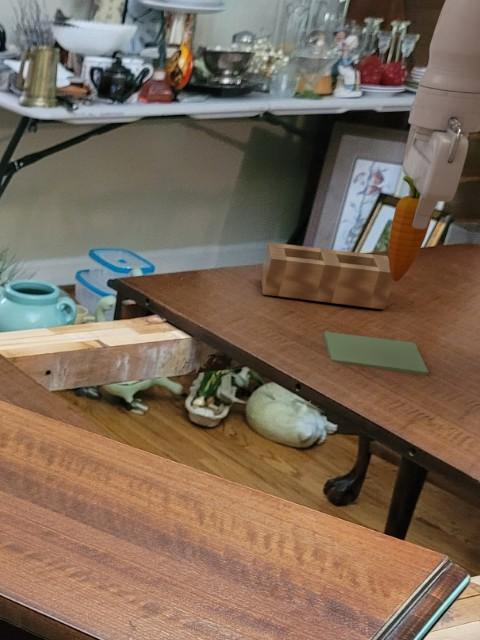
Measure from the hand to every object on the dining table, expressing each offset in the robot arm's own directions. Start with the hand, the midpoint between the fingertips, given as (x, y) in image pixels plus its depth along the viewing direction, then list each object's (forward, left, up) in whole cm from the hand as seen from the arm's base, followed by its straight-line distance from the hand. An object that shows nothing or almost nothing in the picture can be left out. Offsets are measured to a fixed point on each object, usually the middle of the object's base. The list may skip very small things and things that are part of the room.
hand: (414, 222), depth 150 cm
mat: (0, 0, -19) cm, 19 cm away
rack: (+5, -31, -19) cm, 37 cm away
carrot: (0, 0, -8) cm, 8 cm away
